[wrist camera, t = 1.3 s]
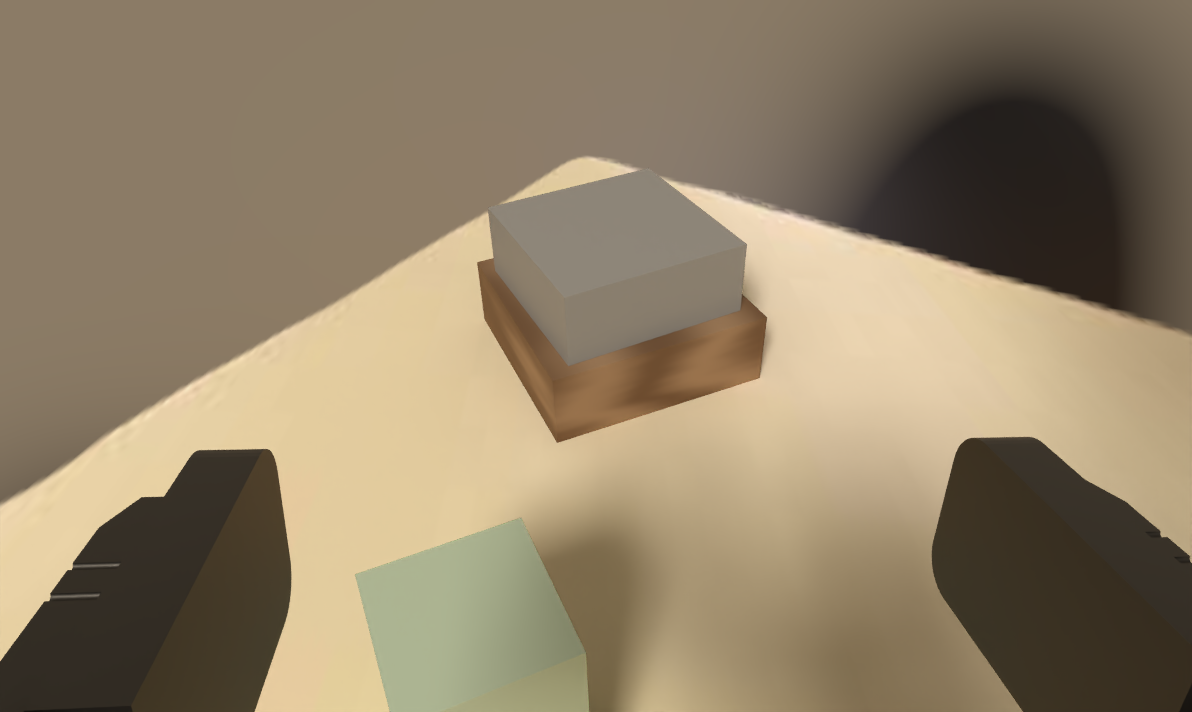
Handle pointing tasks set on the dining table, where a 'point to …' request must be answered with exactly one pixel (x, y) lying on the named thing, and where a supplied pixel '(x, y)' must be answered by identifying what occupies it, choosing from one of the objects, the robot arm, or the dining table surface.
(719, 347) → the walnut base block
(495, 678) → the sage pillar block
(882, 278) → the dining table surface
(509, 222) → the slate grey block
